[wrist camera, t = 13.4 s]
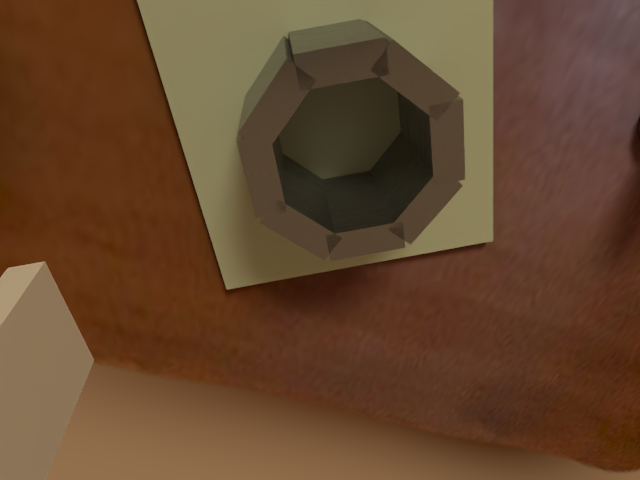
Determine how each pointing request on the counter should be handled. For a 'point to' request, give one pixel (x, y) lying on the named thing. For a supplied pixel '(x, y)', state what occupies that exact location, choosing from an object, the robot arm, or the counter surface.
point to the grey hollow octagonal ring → (364, 187)
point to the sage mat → (317, 115)
